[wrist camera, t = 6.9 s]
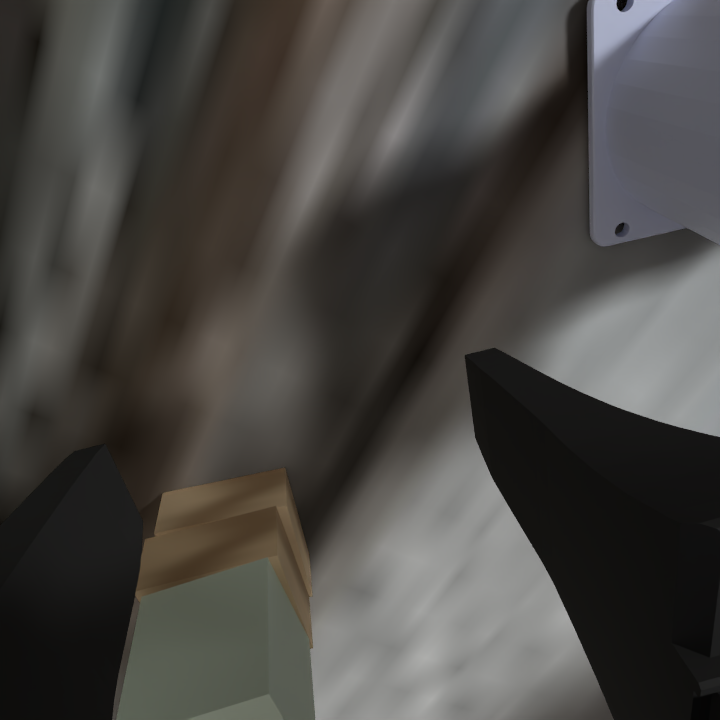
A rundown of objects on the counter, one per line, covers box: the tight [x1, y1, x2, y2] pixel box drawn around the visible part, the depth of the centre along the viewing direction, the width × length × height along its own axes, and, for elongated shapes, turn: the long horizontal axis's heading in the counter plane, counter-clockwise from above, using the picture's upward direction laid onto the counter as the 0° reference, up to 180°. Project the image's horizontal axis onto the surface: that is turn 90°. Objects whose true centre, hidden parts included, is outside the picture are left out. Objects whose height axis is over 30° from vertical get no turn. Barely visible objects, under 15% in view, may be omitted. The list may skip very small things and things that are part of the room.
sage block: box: [116, 557, 315, 720], centre depth 21 cm, size 4×4×5 cm
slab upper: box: [135, 506, 313, 649], centre depth 24 cm, size 5×5×2 cm
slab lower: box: [154, 468, 312, 597], centre depth 26 cm, size 5×5×2 cm
